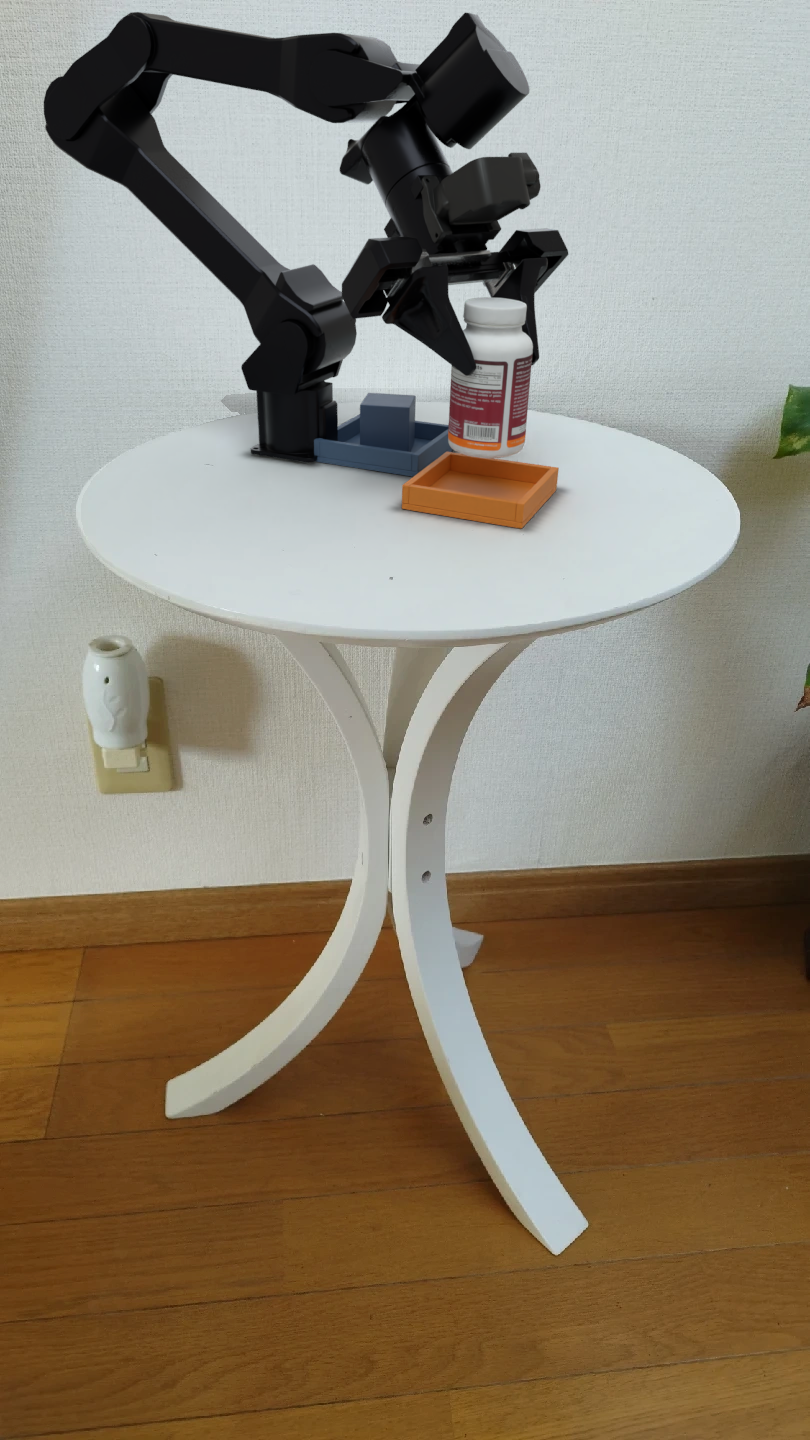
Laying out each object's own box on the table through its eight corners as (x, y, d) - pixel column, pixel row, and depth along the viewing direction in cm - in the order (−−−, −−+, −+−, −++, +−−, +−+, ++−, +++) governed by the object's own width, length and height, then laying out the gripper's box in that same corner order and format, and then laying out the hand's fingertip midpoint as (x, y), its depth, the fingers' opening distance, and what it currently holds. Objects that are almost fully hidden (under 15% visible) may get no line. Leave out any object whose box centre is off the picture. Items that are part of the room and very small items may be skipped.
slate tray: (314, 461, 93) (313, 439, 92) (360, 433, 101) (360, 413, 100) (417, 477, 89) (418, 455, 88) (457, 447, 97) (458, 426, 96)
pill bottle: (499, 434, 85) (511, 293, 79) (538, 455, 80) (554, 308, 75) (433, 441, 83) (440, 296, 77) (469, 463, 78) (480, 311, 72)
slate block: (359, 454, 93) (359, 404, 91) (367, 440, 97) (367, 392, 94) (408, 457, 93) (409, 407, 90) (414, 443, 96) (415, 395, 94)
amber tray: (401, 509, 82) (402, 484, 81) (445, 473, 91) (446, 451, 89) (521, 528, 79) (524, 504, 78) (556, 490, 87) (558, 467, 86)
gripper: (366, 105, 67) (464, 311, 65) (565, 110, 77) (654, 289, 75) (303, 223, 76) (387, 406, 75) (488, 215, 86) (566, 376, 85)
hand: (503, 367), depth 77 cm, fingers closed on pill bottle, 6 cm apart
